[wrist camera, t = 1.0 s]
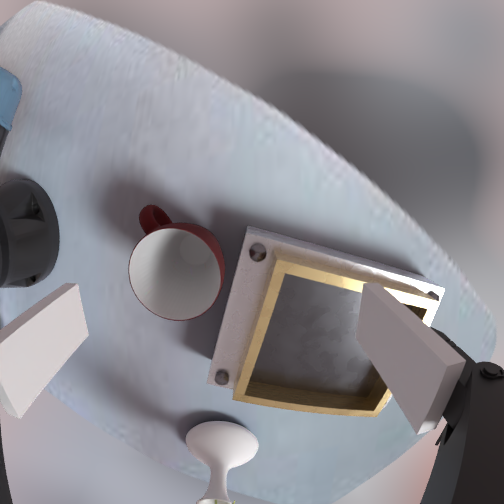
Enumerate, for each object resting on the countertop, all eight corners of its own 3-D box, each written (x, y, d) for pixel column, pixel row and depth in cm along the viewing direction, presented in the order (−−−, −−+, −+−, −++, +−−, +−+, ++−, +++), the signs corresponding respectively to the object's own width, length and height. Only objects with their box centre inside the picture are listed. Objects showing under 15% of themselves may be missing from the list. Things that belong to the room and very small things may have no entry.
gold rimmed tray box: (211, 360, 36) (203, 399, 28) (247, 225, 32) (245, 238, 25) (393, 389, 38) (413, 421, 30) (444, 282, 34) (478, 303, 26)
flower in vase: (232, 463, 42) (225, 583, 17) (175, 438, 40) (143, 564, 16) (279, 427, 39) (293, 571, 15) (216, 397, 38) (193, 557, 13)
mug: (133, 233, 33) (92, 253, 23) (179, 183, 31) (149, 183, 22) (196, 296, 34) (177, 338, 25) (246, 250, 33) (243, 278, 23)
